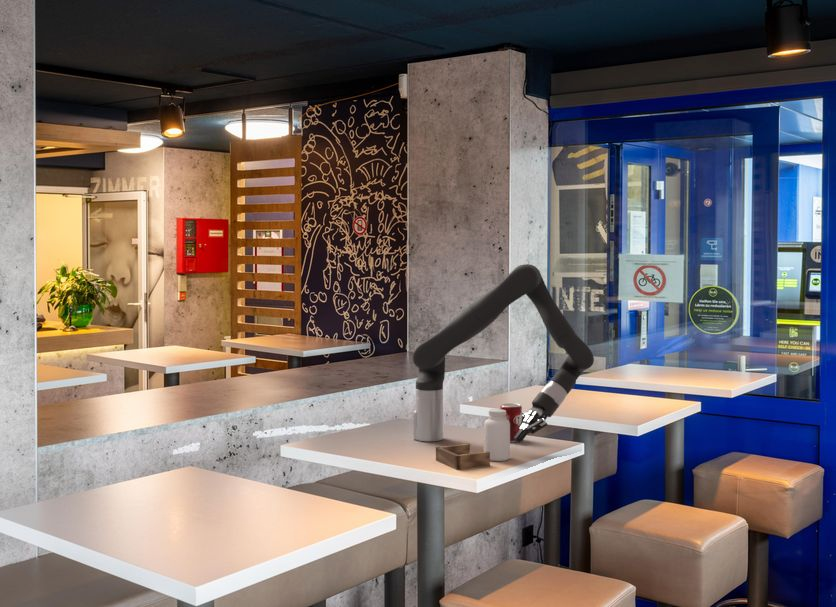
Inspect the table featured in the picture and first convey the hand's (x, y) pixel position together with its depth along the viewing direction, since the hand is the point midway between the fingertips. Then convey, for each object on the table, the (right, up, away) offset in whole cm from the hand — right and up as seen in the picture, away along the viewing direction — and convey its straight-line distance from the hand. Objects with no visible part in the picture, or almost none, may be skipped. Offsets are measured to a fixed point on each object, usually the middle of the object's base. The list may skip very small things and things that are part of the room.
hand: (516, 440), depth 283 cm
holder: (-17, -5, -8) cm, 19 cm away
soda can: (+1, -4, +24) cm, 24 cm away
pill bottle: (-6, -5, -3) cm, 9 cm away
